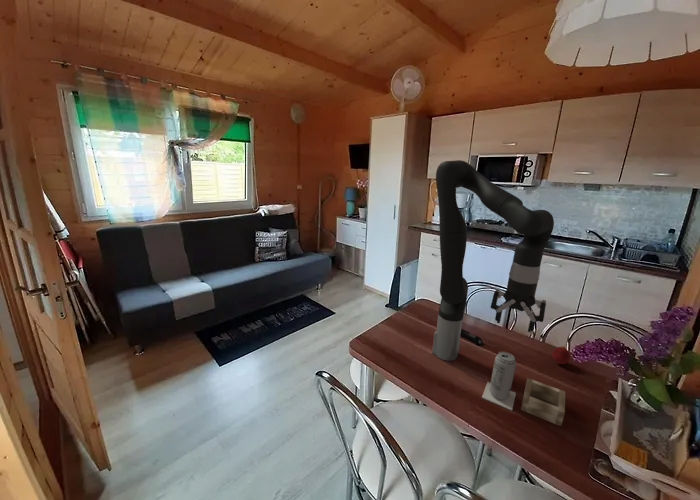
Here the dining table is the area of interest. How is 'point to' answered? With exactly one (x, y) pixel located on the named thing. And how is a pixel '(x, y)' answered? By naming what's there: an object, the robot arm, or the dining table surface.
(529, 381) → the pocket holder
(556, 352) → the onion
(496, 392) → the energy drink can
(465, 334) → the electric trimmer
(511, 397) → the grey pad
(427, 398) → the dining table surface
